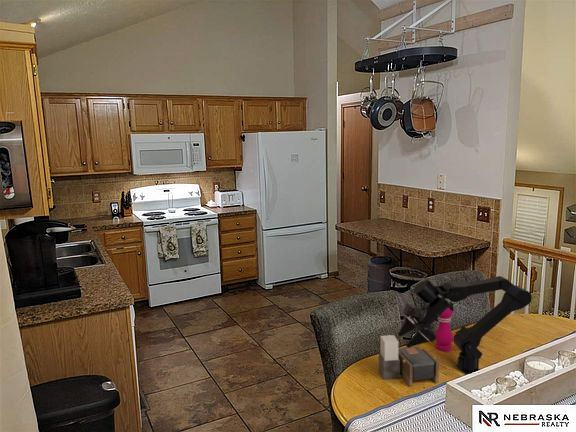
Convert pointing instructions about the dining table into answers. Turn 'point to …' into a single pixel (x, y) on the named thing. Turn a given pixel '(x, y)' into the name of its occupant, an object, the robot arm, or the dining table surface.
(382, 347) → the off-white block
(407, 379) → the frame
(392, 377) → the stand
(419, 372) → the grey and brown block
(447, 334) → the pepper mill
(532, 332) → the dining table surface
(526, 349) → the dining table surface
